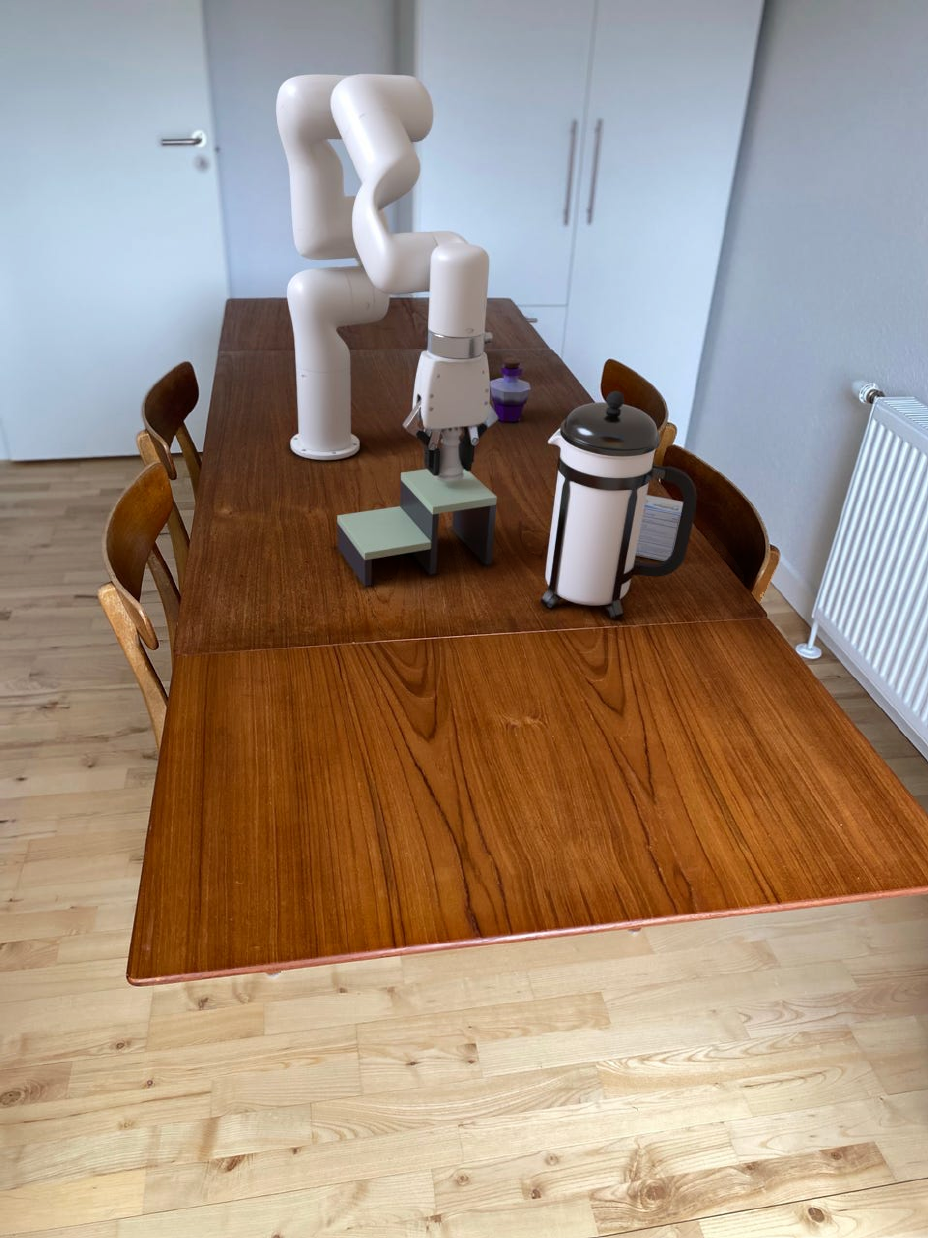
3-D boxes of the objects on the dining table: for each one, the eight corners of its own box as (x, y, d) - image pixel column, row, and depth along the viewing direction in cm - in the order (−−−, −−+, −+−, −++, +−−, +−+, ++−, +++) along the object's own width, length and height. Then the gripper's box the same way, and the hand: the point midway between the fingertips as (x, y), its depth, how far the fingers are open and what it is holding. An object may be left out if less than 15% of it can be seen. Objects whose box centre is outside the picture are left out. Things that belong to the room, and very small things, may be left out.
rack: (337, 547, 139) (336, 481, 133) (457, 528, 147) (461, 464, 141) (364, 587, 130) (364, 517, 124) (491, 563, 138) (497, 497, 132)
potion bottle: (515, 408, 194) (521, 351, 187) (535, 422, 188) (542, 364, 181) (479, 412, 191) (483, 354, 184) (498, 427, 184) (503, 368, 178)
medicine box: (676, 551, 145) (686, 501, 140) (672, 564, 141) (682, 513, 136) (626, 541, 147) (635, 491, 142) (621, 553, 143) (630, 503, 138)
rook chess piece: (432, 470, 136) (434, 418, 131) (462, 470, 136) (465, 419, 132) (433, 483, 132) (436, 430, 128) (465, 484, 132) (468, 431, 128)
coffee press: (574, 637, 123) (606, 422, 106) (513, 580, 134) (535, 378, 118) (676, 611, 130) (722, 405, 114) (611, 558, 142) (644, 365, 125)
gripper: (499, 331, 129) (489, 453, 139) (386, 339, 123) (384, 466, 133) (524, 347, 124) (512, 473, 134) (407, 357, 117) (404, 488, 127)
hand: (448, 468), depth 133 cm, fingers closed on rook chess piece, 4 cm apart
